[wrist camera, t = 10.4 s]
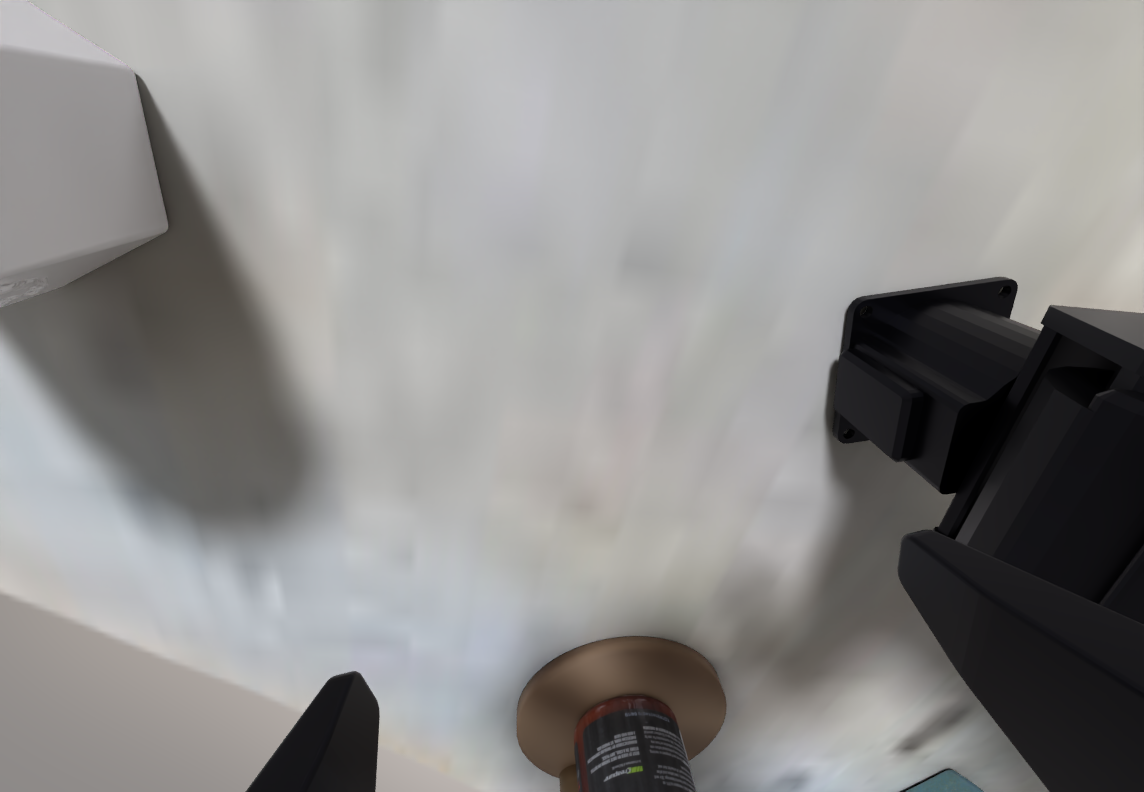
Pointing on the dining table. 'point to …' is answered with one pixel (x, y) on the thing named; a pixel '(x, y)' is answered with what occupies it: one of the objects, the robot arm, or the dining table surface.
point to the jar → (68, 156)
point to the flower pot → (946, 784)
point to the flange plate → (608, 674)
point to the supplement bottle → (631, 748)
